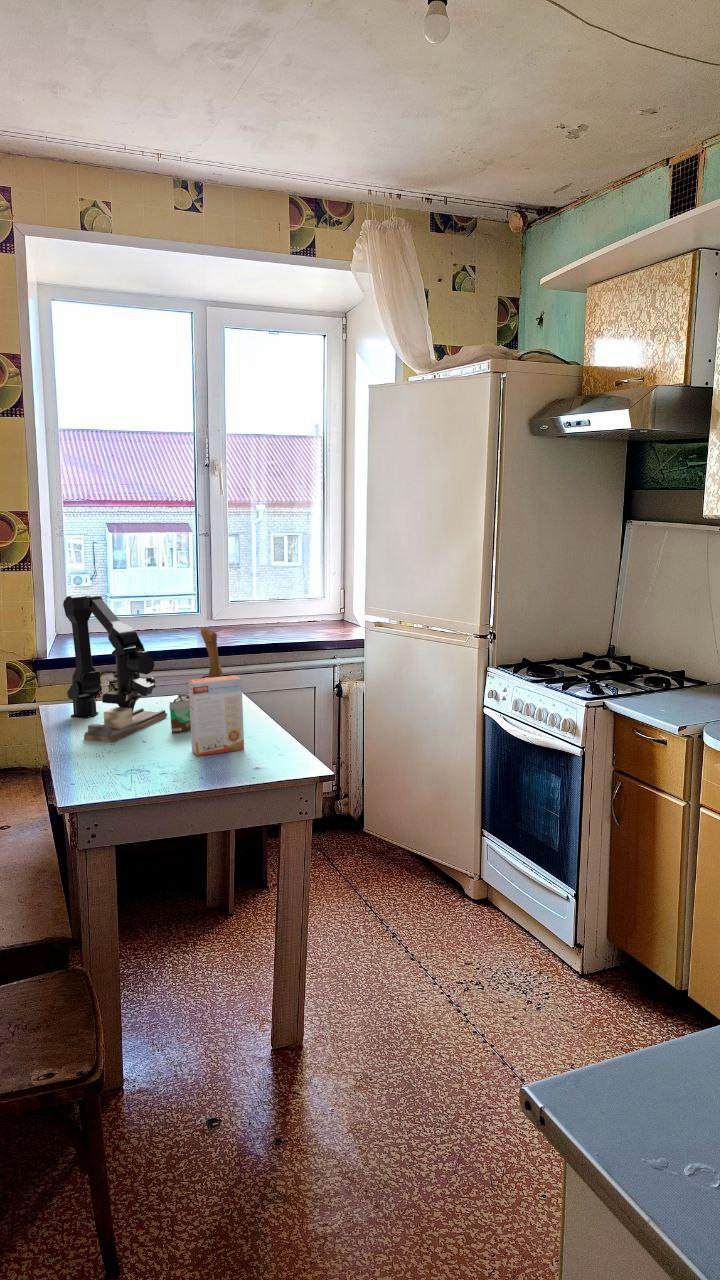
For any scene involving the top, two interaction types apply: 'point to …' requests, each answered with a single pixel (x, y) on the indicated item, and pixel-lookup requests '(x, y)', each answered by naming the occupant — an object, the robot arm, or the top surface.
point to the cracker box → (216, 715)
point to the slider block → (118, 717)
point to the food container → (180, 714)
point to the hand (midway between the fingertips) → (128, 719)
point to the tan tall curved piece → (212, 652)
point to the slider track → (112, 735)
